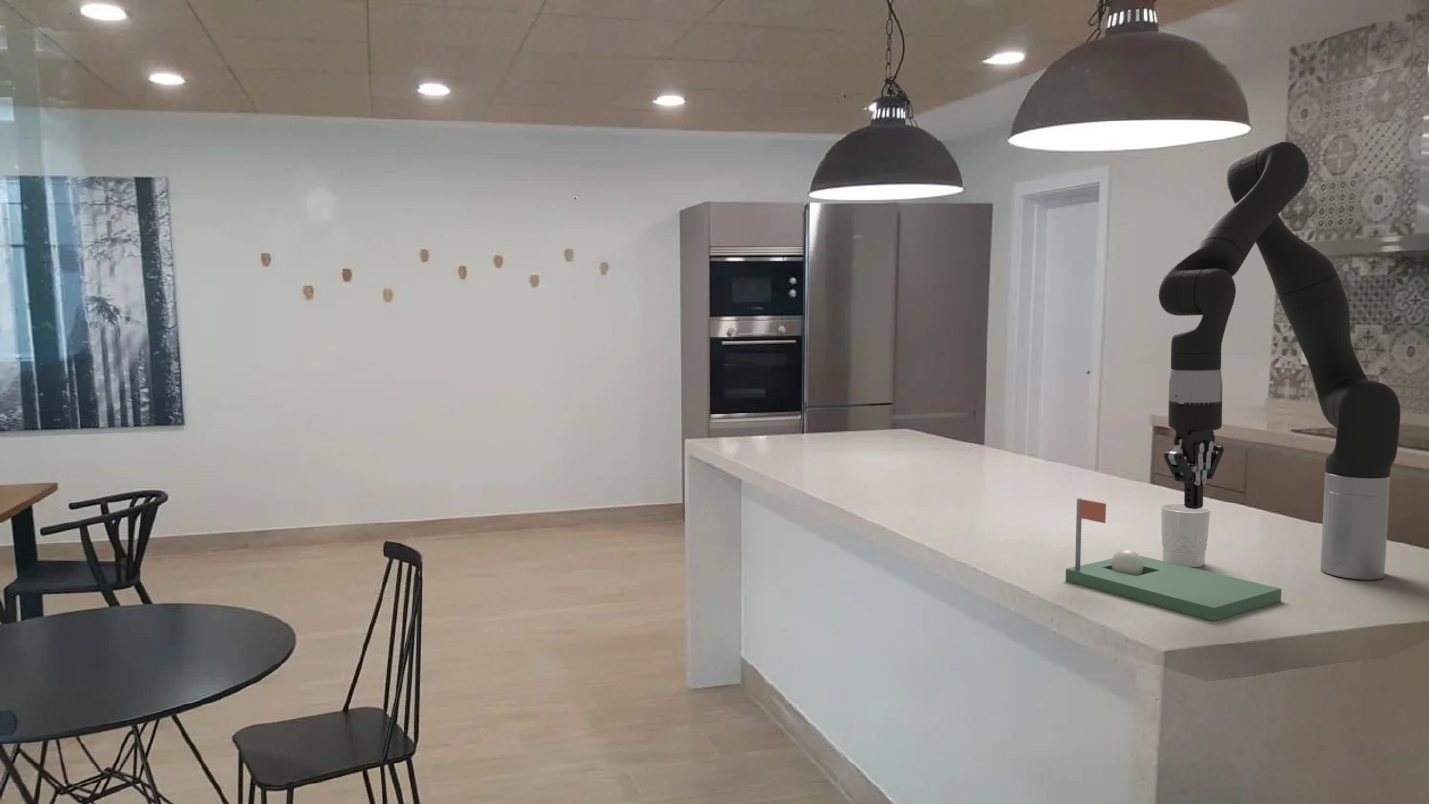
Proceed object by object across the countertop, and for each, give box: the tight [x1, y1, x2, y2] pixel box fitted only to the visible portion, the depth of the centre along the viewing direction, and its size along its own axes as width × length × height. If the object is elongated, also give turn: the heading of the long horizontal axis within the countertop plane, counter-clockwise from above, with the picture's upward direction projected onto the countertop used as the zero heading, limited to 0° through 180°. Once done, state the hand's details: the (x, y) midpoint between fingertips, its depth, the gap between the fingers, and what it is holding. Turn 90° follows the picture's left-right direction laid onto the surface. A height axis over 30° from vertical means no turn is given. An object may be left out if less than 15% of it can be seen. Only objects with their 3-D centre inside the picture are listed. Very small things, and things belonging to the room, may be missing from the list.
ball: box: [1111, 549, 1143, 576], centre depth 163 cm, size 5×5×5 cm
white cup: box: [1160, 503, 1211, 568], centre depth 174 cm, size 8×8×10 cm
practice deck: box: [1065, 498, 1282, 622], centre depth 157 cm, size 18×26×14 cm
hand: (1193, 507), depth 153 cm, fingers closed
